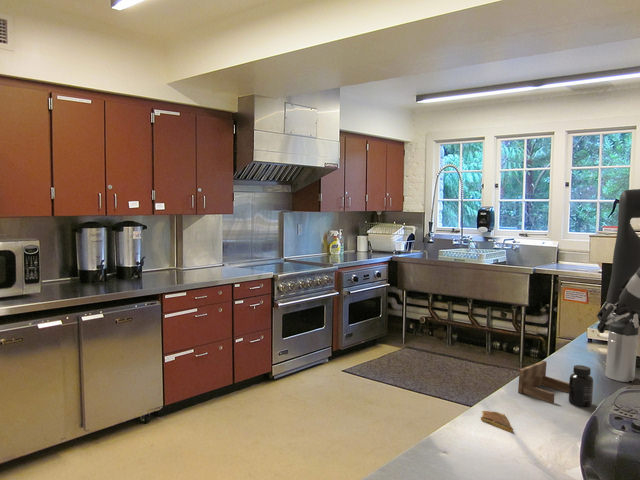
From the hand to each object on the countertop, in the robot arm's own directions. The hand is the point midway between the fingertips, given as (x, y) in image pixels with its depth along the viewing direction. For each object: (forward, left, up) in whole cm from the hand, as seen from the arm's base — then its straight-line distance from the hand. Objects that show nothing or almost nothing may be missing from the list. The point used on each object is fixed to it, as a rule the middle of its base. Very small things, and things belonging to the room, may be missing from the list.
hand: (612, 332), depth 150 cm
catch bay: (-2, -19, -26) cm, 32 cm away
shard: (+31, -17, -26) cm, 44 cm away
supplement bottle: (-2, -9, -26) cm, 27 cm away
